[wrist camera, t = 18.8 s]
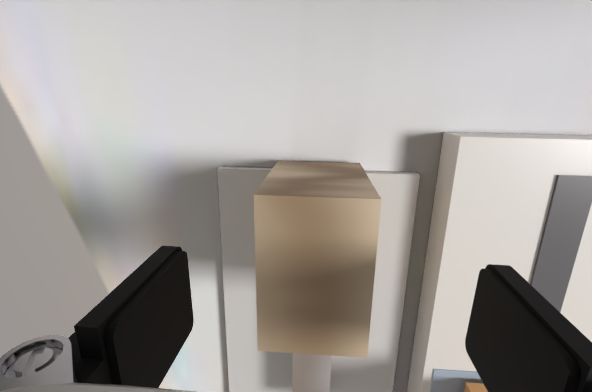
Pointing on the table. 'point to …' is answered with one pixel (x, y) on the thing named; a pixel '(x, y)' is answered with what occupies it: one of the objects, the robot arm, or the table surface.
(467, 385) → the slide tab
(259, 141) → the table surface
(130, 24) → the table surface
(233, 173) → the tool mat
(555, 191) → the switch housing
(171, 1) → the table surface
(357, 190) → the tan block on stem
